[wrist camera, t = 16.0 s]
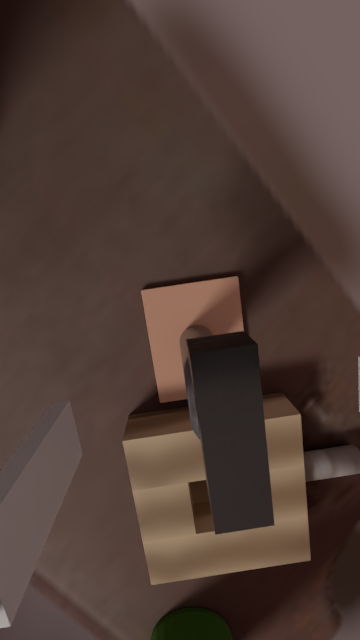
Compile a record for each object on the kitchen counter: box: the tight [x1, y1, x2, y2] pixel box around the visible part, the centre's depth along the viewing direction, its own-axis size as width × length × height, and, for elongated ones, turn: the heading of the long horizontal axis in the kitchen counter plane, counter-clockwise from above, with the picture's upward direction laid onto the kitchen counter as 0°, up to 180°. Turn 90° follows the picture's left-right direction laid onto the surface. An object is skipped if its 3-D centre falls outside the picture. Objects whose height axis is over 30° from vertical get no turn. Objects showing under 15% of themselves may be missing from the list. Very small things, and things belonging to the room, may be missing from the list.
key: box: [179, 325, 274, 535], centre depth 18 cm, size 3×8×14 cm, turn 8°
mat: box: [141, 276, 244, 403], centre depth 26 cm, size 10×8×1 cm
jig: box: [122, 392, 360, 585], centre depth 27 cm, size 14×20×4 cm
